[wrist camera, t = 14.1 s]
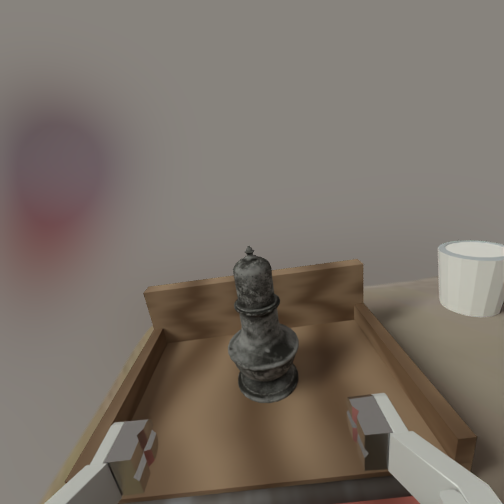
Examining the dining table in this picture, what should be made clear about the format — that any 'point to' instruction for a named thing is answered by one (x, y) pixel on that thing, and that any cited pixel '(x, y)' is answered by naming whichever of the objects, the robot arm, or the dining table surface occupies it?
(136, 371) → the tray
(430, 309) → the dining table surface
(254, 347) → the stone chess piece
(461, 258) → the white tapered cup
